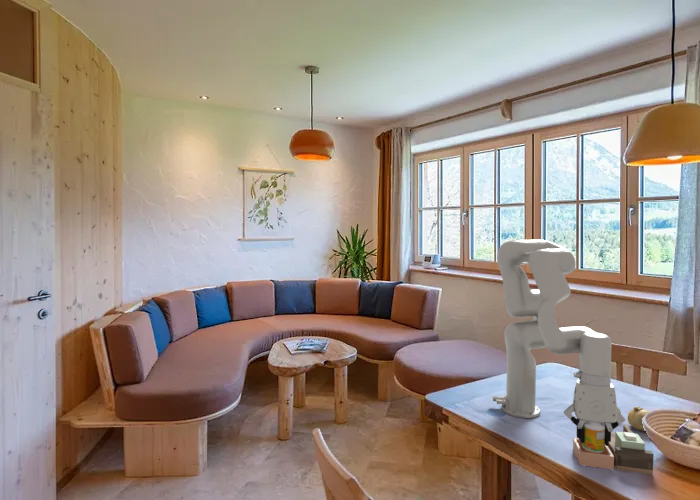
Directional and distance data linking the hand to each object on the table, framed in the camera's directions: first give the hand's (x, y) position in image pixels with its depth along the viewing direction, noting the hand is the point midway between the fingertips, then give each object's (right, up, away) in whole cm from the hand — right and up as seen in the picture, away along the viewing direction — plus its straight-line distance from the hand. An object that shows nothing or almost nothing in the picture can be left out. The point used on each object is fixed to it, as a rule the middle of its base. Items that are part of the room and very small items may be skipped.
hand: (593, 441), depth 120 cm
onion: (+26, -4, +18) cm, 32 cm away
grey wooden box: (+10, -5, +4) cm, 12 cm away
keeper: (+9, -4, -2) cm, 10 cm away
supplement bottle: (0, -2, 0) cm, 2 cm away
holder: (0, -5, 0) cm, 5 cm away
